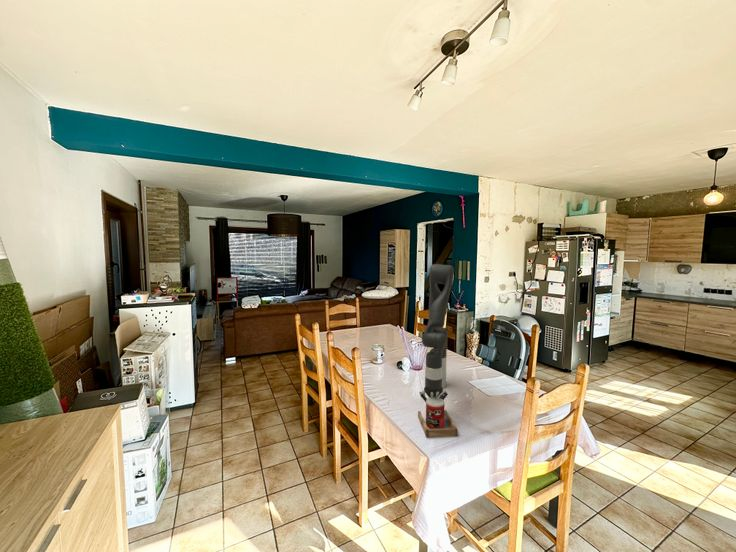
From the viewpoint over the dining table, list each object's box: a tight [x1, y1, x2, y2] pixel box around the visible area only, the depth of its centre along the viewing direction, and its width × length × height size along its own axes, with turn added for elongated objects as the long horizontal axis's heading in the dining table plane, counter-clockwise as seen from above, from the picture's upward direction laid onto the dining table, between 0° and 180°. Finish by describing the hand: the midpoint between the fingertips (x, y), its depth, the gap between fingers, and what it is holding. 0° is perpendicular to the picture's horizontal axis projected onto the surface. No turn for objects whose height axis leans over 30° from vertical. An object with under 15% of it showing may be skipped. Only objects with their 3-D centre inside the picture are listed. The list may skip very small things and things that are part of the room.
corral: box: [417, 409, 459, 439], centre depth 133 cm, size 15×13×3 cm
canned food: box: [425, 397, 445, 429], centre depth 134 cm, size 8×8×11 cm
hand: (433, 412), depth 139 cm, fingers closed
